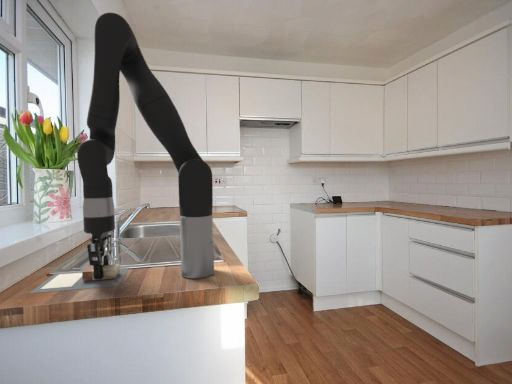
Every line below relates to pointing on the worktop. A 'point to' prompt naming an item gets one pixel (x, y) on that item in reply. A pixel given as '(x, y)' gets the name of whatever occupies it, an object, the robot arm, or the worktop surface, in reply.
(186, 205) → the robot arm
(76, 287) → the rubber mat
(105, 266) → the birch tile
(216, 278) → the worktop surface
